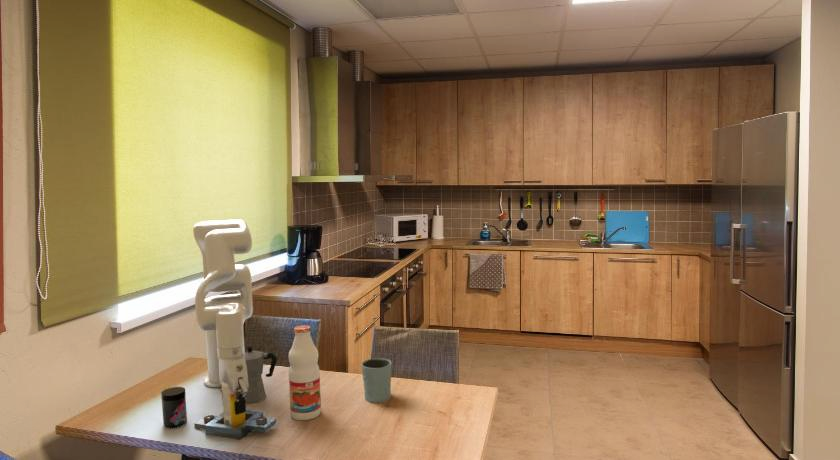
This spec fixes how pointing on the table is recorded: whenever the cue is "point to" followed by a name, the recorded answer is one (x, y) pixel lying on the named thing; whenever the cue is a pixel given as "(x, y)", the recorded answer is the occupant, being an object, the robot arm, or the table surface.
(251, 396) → the coffeepot
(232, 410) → the beer can
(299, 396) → the fruit juice
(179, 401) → the supplement container
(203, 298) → the robot arm
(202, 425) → the lower chain end
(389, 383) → the drinking glass
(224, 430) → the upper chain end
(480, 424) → the table surface
